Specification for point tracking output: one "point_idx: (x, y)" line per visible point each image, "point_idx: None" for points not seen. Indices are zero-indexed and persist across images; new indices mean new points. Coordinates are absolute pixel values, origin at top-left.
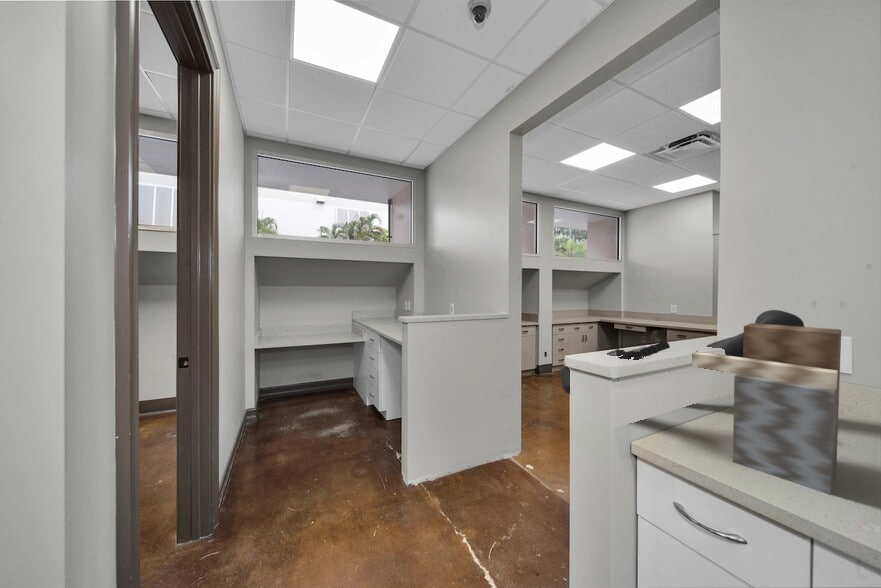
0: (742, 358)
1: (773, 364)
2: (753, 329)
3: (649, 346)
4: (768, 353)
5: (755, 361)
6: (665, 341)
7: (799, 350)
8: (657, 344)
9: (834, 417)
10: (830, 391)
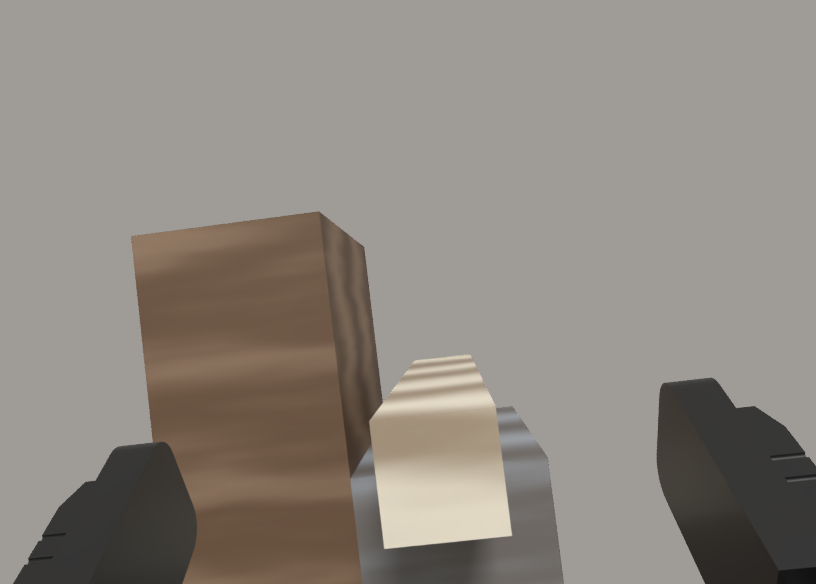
0: (424, 381)
1: (466, 366)
2: (328, 231)
3: (738, 416)
4: (351, 352)
5: (458, 372)
6: (158, 442)
7: (361, 319)
8: (111, 562)
9: None
10: (501, 408)
